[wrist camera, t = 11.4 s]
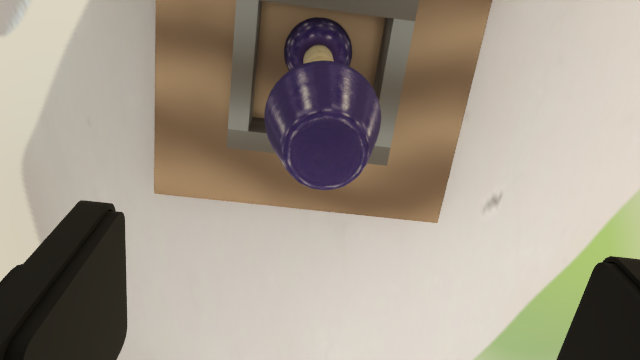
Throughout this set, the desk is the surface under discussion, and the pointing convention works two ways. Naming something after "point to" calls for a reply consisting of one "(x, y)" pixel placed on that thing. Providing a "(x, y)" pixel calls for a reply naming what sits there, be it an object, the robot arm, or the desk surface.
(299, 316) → the desk surface
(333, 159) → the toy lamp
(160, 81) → the socket board
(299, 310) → the desk surface
